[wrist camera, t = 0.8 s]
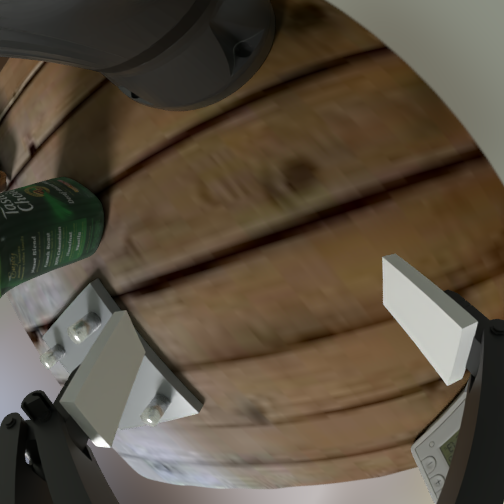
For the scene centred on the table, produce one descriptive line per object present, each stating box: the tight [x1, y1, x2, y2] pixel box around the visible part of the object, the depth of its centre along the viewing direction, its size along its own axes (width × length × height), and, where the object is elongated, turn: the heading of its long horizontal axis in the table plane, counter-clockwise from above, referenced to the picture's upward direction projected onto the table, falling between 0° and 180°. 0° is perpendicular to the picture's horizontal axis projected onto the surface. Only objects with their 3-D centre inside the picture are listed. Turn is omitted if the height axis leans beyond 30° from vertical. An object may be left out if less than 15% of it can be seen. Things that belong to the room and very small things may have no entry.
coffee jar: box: [0, 177, 104, 298], centre depth 20 cm, size 10×8×19 cm
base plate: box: [40, 278, 203, 430], centre depth 33 cm, size 20×20×6 cm
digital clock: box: [411, 389, 467, 504], centre depth 20 cm, size 16×9×11 cm, turn 151°
